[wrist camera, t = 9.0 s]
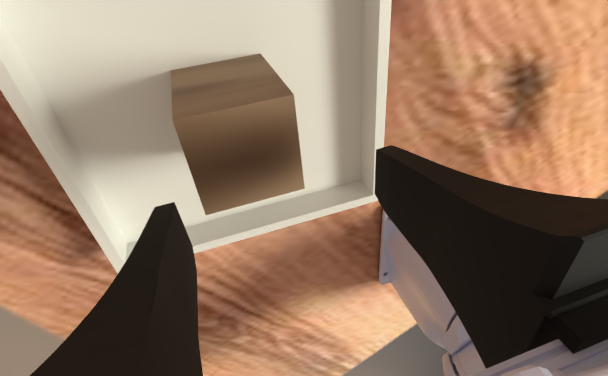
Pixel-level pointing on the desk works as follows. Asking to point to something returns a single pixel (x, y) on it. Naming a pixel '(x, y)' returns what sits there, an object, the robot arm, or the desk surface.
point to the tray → (158, 103)
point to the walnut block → (237, 131)
